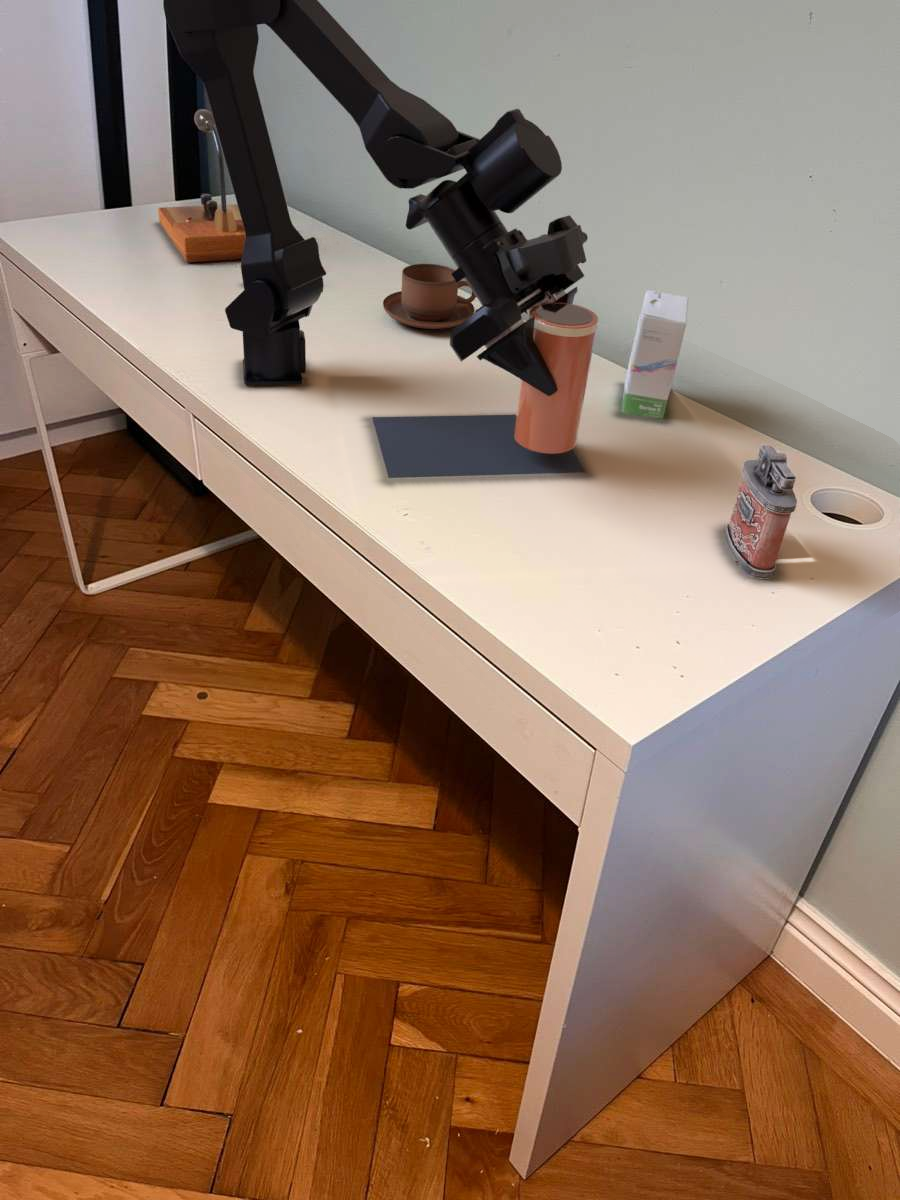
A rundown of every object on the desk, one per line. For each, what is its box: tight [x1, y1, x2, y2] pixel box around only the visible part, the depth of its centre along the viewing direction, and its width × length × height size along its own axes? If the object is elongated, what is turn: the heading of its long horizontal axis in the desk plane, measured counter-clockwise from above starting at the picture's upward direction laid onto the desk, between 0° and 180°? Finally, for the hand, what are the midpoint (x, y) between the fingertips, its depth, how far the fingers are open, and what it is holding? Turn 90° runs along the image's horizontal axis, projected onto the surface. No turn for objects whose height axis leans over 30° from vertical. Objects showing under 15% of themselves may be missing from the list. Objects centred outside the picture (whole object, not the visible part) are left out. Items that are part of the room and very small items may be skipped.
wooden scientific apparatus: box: [157, 108, 245, 263], centre depth 142 cm, size 14×30×18 cm, turn 24°
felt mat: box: [371, 414, 586, 479], centre depth 103 cm, size 20×13×1 cm, turn 101°
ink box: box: [621, 290, 689, 419], centre depth 111 cm, size 9×5×12 cm, turn 168°
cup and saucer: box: [382, 263, 477, 330], centre depth 129 cm, size 12×12×6 cm
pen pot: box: [514, 302, 599, 454], centre depth 97 cm, size 6×6×13 cm
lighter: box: [724, 444, 798, 580], centre depth 87 cm, size 8×3×10 cm, turn 5°
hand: (567, 381), depth 96 cm, fingers closed on pen pot, 6 cm apart
